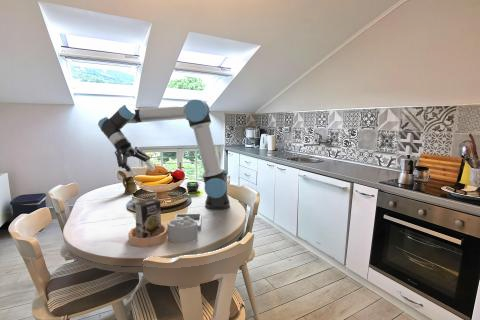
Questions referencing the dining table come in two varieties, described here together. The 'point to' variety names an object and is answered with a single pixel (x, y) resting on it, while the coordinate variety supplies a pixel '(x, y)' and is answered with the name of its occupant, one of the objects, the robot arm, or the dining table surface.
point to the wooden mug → (128, 183)
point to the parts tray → (192, 217)
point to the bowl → (148, 241)
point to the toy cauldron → (193, 188)
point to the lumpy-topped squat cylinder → (182, 229)
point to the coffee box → (148, 218)
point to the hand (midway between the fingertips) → (144, 172)
